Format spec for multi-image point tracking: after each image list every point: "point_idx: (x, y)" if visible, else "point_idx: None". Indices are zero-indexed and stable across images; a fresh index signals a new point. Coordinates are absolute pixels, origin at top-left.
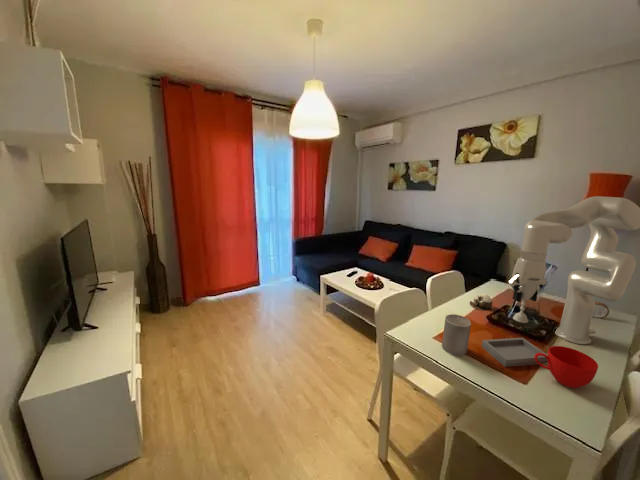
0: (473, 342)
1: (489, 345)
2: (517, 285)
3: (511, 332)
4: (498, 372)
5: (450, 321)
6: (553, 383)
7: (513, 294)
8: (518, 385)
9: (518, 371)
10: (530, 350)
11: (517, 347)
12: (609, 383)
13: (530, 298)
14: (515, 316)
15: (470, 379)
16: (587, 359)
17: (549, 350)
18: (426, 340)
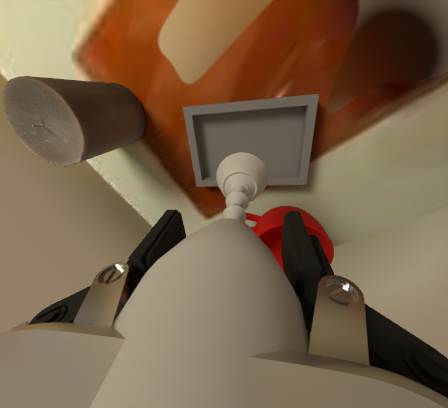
0: (176, 85)
1: (188, 134)
2: (108, 319)
3: (348, 9)
4: (180, 192)
5: (21, 135)
6: (255, 222)
7: (154, 226)
8: (195, 219)
9: (217, 193)
10: (298, 139)
11: (274, 125)
12: (356, 232)
13: (282, 235)
14: (219, 179)
15: (128, 201)
16: (327, 253)
17: (261, 234)
18: (58, 73)
